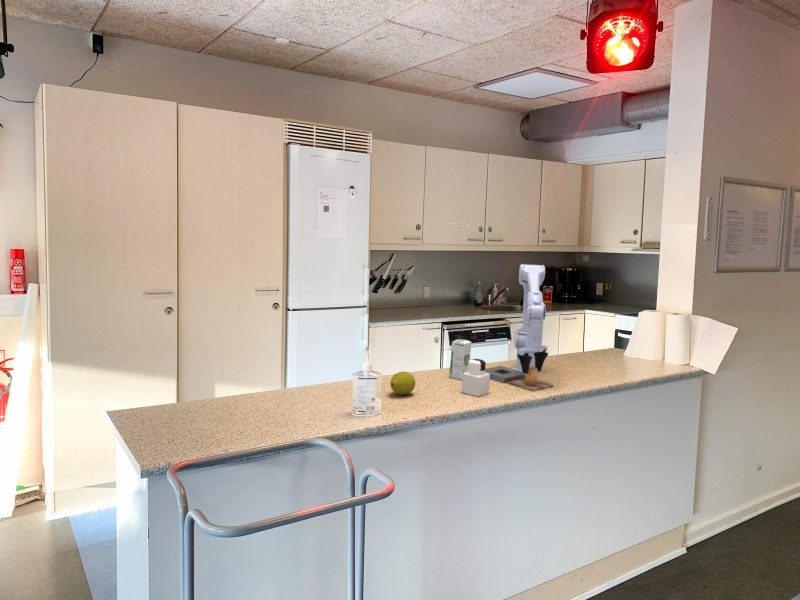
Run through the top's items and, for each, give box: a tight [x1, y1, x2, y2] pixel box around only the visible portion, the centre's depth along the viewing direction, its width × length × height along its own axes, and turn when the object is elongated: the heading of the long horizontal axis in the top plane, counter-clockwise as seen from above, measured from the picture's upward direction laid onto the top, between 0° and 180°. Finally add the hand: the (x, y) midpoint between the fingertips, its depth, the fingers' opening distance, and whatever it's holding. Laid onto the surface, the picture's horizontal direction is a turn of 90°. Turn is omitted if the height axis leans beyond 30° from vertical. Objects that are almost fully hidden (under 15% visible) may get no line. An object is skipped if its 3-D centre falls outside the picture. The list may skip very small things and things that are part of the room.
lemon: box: [389, 371, 416, 396], centre depth 210 cm, size 11×8×8 cm
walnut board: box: [507, 379, 555, 392], centre depth 230 cm, size 12×12×1 cm
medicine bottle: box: [461, 358, 491, 397], centre depth 216 cm, size 7×7×12 cm
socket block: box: [484, 365, 525, 384], centre depth 240 cm, size 14×14×2 cm
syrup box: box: [449, 339, 472, 381], centre depth 236 cm, size 6×6×14 cm
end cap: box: [525, 367, 538, 385], centre depth 229 cm, size 4×4×6 cm
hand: (531, 371), depth 229 cm, fingers open, 7 cm apart
